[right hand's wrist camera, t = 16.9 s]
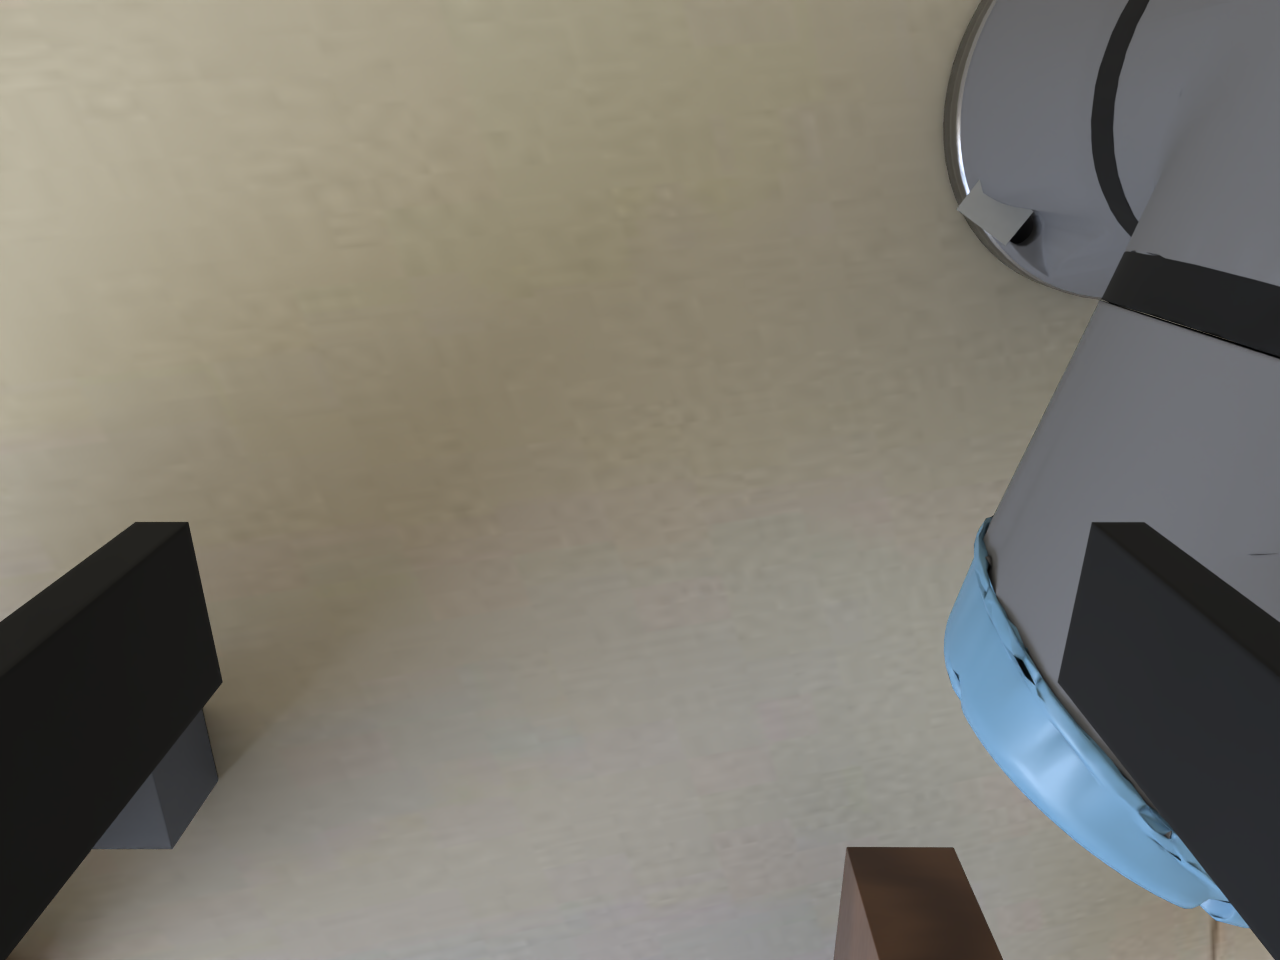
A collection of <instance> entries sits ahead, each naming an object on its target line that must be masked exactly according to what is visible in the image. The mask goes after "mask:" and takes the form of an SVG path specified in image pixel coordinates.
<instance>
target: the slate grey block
mask: <svg viewBox="0 0 1280 960" xmlns="http://www.w3.org/2000/svg"><path fill="white" fill-rule="evenodd" d="M217 781H218V777H217V772H216V768H215V764H214V759H213V755H212V751H211V746H210V742H209V737H208V733H207V729H206V724H205V720H204V715H203V711H202V709H201V710H200V712H199V713H198V714H197V715H196V717H195V718H194V719H193V721H192V722H191V723H190V724H189V726H188V727H187V728H186V729H185V731H184V732H183V733H182V735H181V736H180V737H179V738H178V740H177V741H176V742H175V744H174V745H173V746H172V747H171V749H170V750H169V751H168V752H167V754H166V755H165V756H164V758H163V759H162V760H161V761H160V763H159V764H158V765H157V767H156V768H155V769H154V770H153V772H152V773H151V774H150V775H149V777H148V778H147V779H146V781H145V782H144V783H143V784H142V786H141V787H140V788H139V789H138V791H137V792H136V793H135V795H134V796H133V797H132V798H131V800H130V801H129V802H128V804H127V805H126V806H125V807H124V809H123V810H122V811H121V812H120V814H119V815H118V816H117V818H116V819H115V820H114V821H113V823H112V824H111V825H110V827H109V828H108V829H107V830H106V832H105V833H104V834H103V835H102V837H101V838H100V839H99V841H98V842H97V843H96V844H95V846H94V847H93V848H92V849H173V847H174V846H175V844H176V843H177V841H178V840H179V838H180V837H181V835H182V834H183V832H184V831H185V829H186V828H187V826H188V825H189V823H190V822H191V820H192V819H193V817H194V816H195V814H196V813H197V811H198V810H199V808H200V807H201V805H202V804H203V802H204V801H205V799H206V798H207V796H208V795H209V793H210V792H211V790H212V789H213V787H214V786H215V784H216V783H217Z"/></svg>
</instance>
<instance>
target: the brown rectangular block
mask: <svg viewBox="0 0 1280 960" xmlns="http://www.w3.org/2000/svg"><path fill="white" fill-rule="evenodd" d="M834 960H1003V958H1002V956H1001V954H1000V952H999V949H998V947H997V945H996V943H995V940H994V938H993V936H992V933H991V931H990V929H989V927H988V924H987V922H986V920H985V918H984V915H983V913H982V911H981V909H980V906H979V904H978V902H977V900H976V897H975V895H974V893H973V890H972V888H971V886H970V884H969V881H968V879H967V877H966V875H965V872H964V870H963V868H962V866H961V863H960V861H959V859H958V857H957V854H956V852H955V850H954V848H952V847H847V849H846V857H845V866H844V875H843V883H842V892H841V901H840V909H839V918H838V926H837V935H836V944H835V952H834Z"/></svg>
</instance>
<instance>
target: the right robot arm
mask: <svg viewBox="0 0 1280 960" xmlns="http://www.w3.org/2000/svg"><path fill="white" fill-rule="evenodd" d="M943 125H944V150H945V159H946V165H947V170H948V174H949V179H950V183H951V186H952V189H953V192H954V195H955V198H956V200H957V202H958V205H959V206H958V208H957V210H958V211H959V212H961V213H962V214H963V215H964V217H965V219H966V221H967V222H968V224H969V226H970V228H971V229H972V230H973V232H974V233H975V234H976V236H977V237H978V238H979V240H980V241H981V242H982V243H983V244H984V246H985V247H986V248H987V249H988V250H989V251H990V252H991V253H992V254H993V255H994V256H995V257H997V258H998V259H999V260H1000V261H1001V262H1002V263H1004V264H1005V265H1006V266H1008V267H1009V268H1011V269H1012V270H1014V271H1015V272H1017V273H1019V274H1021V275H1022V276H1024V277H1026V278H1028V279H1030V280H1032V281H1035V282H1037V283H1040V284H1042V285H1045V286H1048V287H1051V288H1054V289H1057V290H1060V291H1063V292H1066V293H1069V294H1073V295H1077V296H1081V297H1086V298H1093V299H1101V300H1105V301H1107V302H1104V301H1101V300H1100V301H1099V303H1098V305H1097V307H1096V309H1095V311H1094V313H1093V315H1092V317H1091V319H1090V321H1089V323H1088V325H1087V328H1086V330H1085V332H1084V334H1083V336H1082V338H1081V340H1080V342H1079V344H1078V346H1077V348H1076V350H1075V352H1074V354H1073V356H1072V358H1071V360H1070V362H1069V364H1068V366H1067V368H1066V370H1065V372H1064V374H1063V376H1062V378H1061V380H1060V382H1059V384H1058V386H1057V388H1056V390H1055V392H1054V394H1053V396H1052V398H1051V400H1050V402H1049V405H1048V407H1047V409H1046V411H1045V413H1044V415H1043V417H1042V419H1041V421H1040V423H1039V425H1038V427H1037V429H1036V431H1035V433H1034V435H1033V437H1032V439H1031V441H1030V443H1029V445H1028V447H1027V449H1026V451H1025V453H1024V455H1023V457H1022V459H1021V461H1020V463H1019V465H1018V467H1017V469H1016V471H1015V473H1014V475H1013V477H1012V480H1011V482H1010V484H1009V486H1008V488H1007V490H1006V492H1005V494H1004V496H1003V498H1002V500H1001V502H1000V504H999V506H998V508H997V510H996V512H995V514H994V516H992V517H989V518H986V519H985V521H984V523H983V524H982V526H981V527H980V529H979V531H978V533H977V536H976V539H975V543H974V559H973V561H972V564H971V566H970V568H969V571H968V573H967V576H966V578H965V580H964V583H963V585H962V587H961V590H960V592H959V594H958V597H957V599H956V602H955V604H954V606H953V609H952V611H951V613H950V616H949V619H948V622H947V626H946V631H945V638H944V656H945V664H946V668H947V671H948V675H949V678H950V681H951V684H952V687H953V689H954V691H955V693H956V694H957V696H958V697H959V699H960V700H961V706H962V710H963V713H964V715H965V717H966V719H967V721H968V723H969V724H970V726H971V727H972V729H973V731H974V732H975V734H976V735H977V737H978V739H979V740H980V741H981V743H982V744H983V746H984V747H985V749H986V750H987V751H988V752H989V754H990V755H991V756H992V758H993V759H994V760H995V761H996V763H997V764H998V765H999V766H1000V768H1001V769H1002V770H1003V771H1004V772H1005V774H1006V775H1007V776H1008V777H1009V778H1010V779H1011V780H1012V782H1013V783H1014V784H1015V785H1016V786H1017V787H1018V788H1019V789H1020V790H1021V791H1022V792H1023V793H1024V794H1025V795H1026V796H1027V797H1028V798H1029V799H1030V800H1031V801H1032V802H1033V803H1034V804H1035V805H1036V806H1037V807H1038V808H1039V809H1040V810H1041V811H1042V812H1043V813H1044V814H1045V815H1046V816H1047V817H1048V818H1050V819H1051V820H1052V821H1053V822H1054V823H1055V824H1056V825H1057V826H1059V827H1060V828H1061V829H1062V830H1063V831H1064V832H1066V833H1067V834H1068V835H1069V836H1070V837H1071V838H1073V839H1074V840H1075V841H1076V842H1077V843H1079V844H1080V845H1081V846H1083V847H1084V848H1085V849H1086V850H1088V851H1089V852H1090V853H1092V854H1093V855H1094V856H1096V857H1097V858H1099V859H1100V860H1101V861H1103V862H1104V863H1105V864H1107V865H1108V866H1110V867H1111V868H1113V869H1114V870H1116V871H1117V872H1119V873H1120V874H1121V875H1123V876H1125V877H1126V878H1128V879H1129V880H1131V881H1133V882H1134V883H1136V884H1138V885H1139V886H1141V887H1143V888H1144V889H1146V890H1148V891H1150V892H1151V893H1153V894H1155V895H1157V896H1159V897H1161V898H1163V899H1165V900H1167V901H1169V902H1171V903H1173V904H1175V905H1177V906H1179V907H1182V908H1185V909H1192V908H1194V907H1197V906H1199V905H1200V906H1201V907H1202V908H1203V909H1204V910H1205V911H1206V912H1207V913H1208V914H1209V915H1210V916H1212V917H1213V918H1214V919H1215V920H1216V921H1220V922H1224V923H1228V924H1232V925H1235V926H1239V927H1243V928H1250V929H1251V930H1252V931H1253V933H1254V934H1255V935H1256V936H1257V938H1258V939H1259V940H1260V941H1261V943H1262V944H1263V945H1264V947H1265V948H1266V949H1267V950H1268V952H1269V953H1270V954H1271V955H1272V957H1273V958H1274V959H1275V960H1280V0H982V1H981V3H980V4H979V6H978V8H977V10H976V12H975V14H974V15H973V17H972V19H971V21H970V23H969V25H968V27H967V30H966V32H965V34H964V36H963V39H962V41H961V43H960V46H959V49H958V52H957V55H956V58H955V60H954V63H953V67H952V71H951V75H950V79H949V83H948V89H947V95H946V101H945V110H944V124H943ZM1108 302H1109V303H1108ZM1114 304H1115V305H1114ZM1121 306H1122V307H1121ZM1124 307H1125V308H1124ZM1127 308H1129V309H1127ZM1130 309H1132V310H1130ZM1134 310H1136V311H1134ZM1137 311H1139V312H1137ZM1140 312H1143V313H1146V314H1143V313H1140ZM1147 314H1150V315H1153V316H1156V317H1159V318H1162V319H1165V320H1162V319H1159V318H1156V317H1153V316H1150V315H1147ZM1166 320H1168V321H1166ZM1169 321H1171V322H1169ZM1172 322H1174V323H1172ZM1175 323H1177V324H1175ZM1178 324H1181V325H1178ZM1182 325H1184V326H1182ZM1185 326H1187V327H1185ZM1188 327H1190V328H1188ZM1191 328H1193V329H1191ZM1194 329H1196V330H1194ZM1197 330H1199V331H1197ZM1201 331H1202V332H1201ZM1204 332H1205V333H1204ZM1207 333H1208V334H1207ZM1210 334H1212V335H1210ZM1213 335H1215V336H1213ZM1216 336H1218V337H1216ZM1220 337H1221V338H1220ZM1223 338H1224V339H1223ZM1226 339H1227V340H1226ZM1229 340H1230V341H1229ZM1232 341H1233V342H1232ZM1235 342H1236V343H1235ZM1238 343H1239V344H1238ZM221 684H222V677H221V673H220V668H219V663H218V659H217V654H216V649H215V645H214V640H213V635H212V631H211V626H210V621H209V617H208V612H207V607H206V603H205V598H204V593H203V589H202V584H201V579H200V575H199V570H198V565H197V561H196V556H195V551H194V547H193V542H192V537H191V533H190V528H189V523H188V522H135V523H134V524H132V525H131V526H130V527H128V528H127V529H126V530H124V531H123V532H121V533H120V534H119V535H117V536H116V537H115V538H113V539H112V540H111V541H109V542H108V543H107V544H105V545H104V546H103V547H101V548H100V549H98V550H97V551H96V552H94V553H93V554H92V555H90V556H89V557H88V558H86V559H85V560H84V561H82V562H81V563H80V564H78V565H77V566H75V567H74V568H73V569H71V570H70V571H69V572H67V573H66V574H65V575H63V576H62V577H61V578H59V579H58V580H57V581H55V582H54V583H52V584H51V585H50V586H48V587H47V588H46V589H44V590H43V591H42V592H40V593H39V594H38V595H36V596H35V597H34V598H32V599H31V600H30V601H28V602H27V603H25V604H24V605H23V606H21V607H20V608H19V609H17V610H16V611H15V612H13V613H12V614H11V615H9V616H8V617H7V618H5V619H4V620H2V621H1V622H0V960H5V959H6V958H7V957H8V955H9V954H10V953H11V952H12V950H13V949H14V948H15V947H16V945H17V944H18V943H19V941H20V940H21V939H22V938H23V936H24V935H25V934H26V933H27V931H28V930H29V929H30V927H31V926H32V925H33V924H34V922H35V921H36V920H37V918H38V917H39V916H40V915H41V913H42V912H43V911H44V910H45V908H46V907H47V906H48V904H49V903H50V902H51V901H52V899H53V898H54V897H55V895H56V894H57V893H58V892H59V890H60V889H61V888H62V887H63V885H64V884H65V883H66V881H67V880H68V879H69V878H70V876H71V875H72V874H73V872H74V871H75V870H76V869H77V867H78V866H79V865H80V864H81V862H82V861H83V860H84V858H85V857H86V856H87V855H88V853H89V852H90V851H91V850H92V848H93V847H94V846H95V844H96V843H97V842H98V841H99V839H100V838H101V837H102V835H103V834H104V833H105V832H106V830H107V829H108V828H109V827H110V825H111V824H112V823H113V821H114V820H115V819H116V818H117V816H118V815H119V814H120V812H121V811H122V810H123V809H124V807H125V806H126V805H127V804H128V802H129V801H130V800H131V798H132V797H133V796H134V795H135V793H136V792H137V791H138V789H139V788H140V787H141V786H142V784H143V783H144V782H145V781H146V779H147V778H148V777H149V775H150V774H151V773H152V772H153V770H154V769H155V768H156V767H157V765H158V764H159V763H160V761H161V760H162V759H163V758H164V756H165V755H166V754H167V752H168V751H169V750H170V749H171V747H172V746H173V745H174V744H175V742H176V741H177V740H178V738H179V737H180V736H181V735H182V733H183V732H184V731H185V729H186V728H187V727H188V726H189V724H190V723H191V722H192V721H193V719H194V718H195V717H196V715H197V714H198V713H199V712H200V710H201V709H202V708H203V706H204V705H205V704H206V703H207V701H208V700H209V699H210V698H211V696H212V695H213V694H214V692H215V691H216V690H217V689H218V687H219V686H220V685H221Z"/></svg>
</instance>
